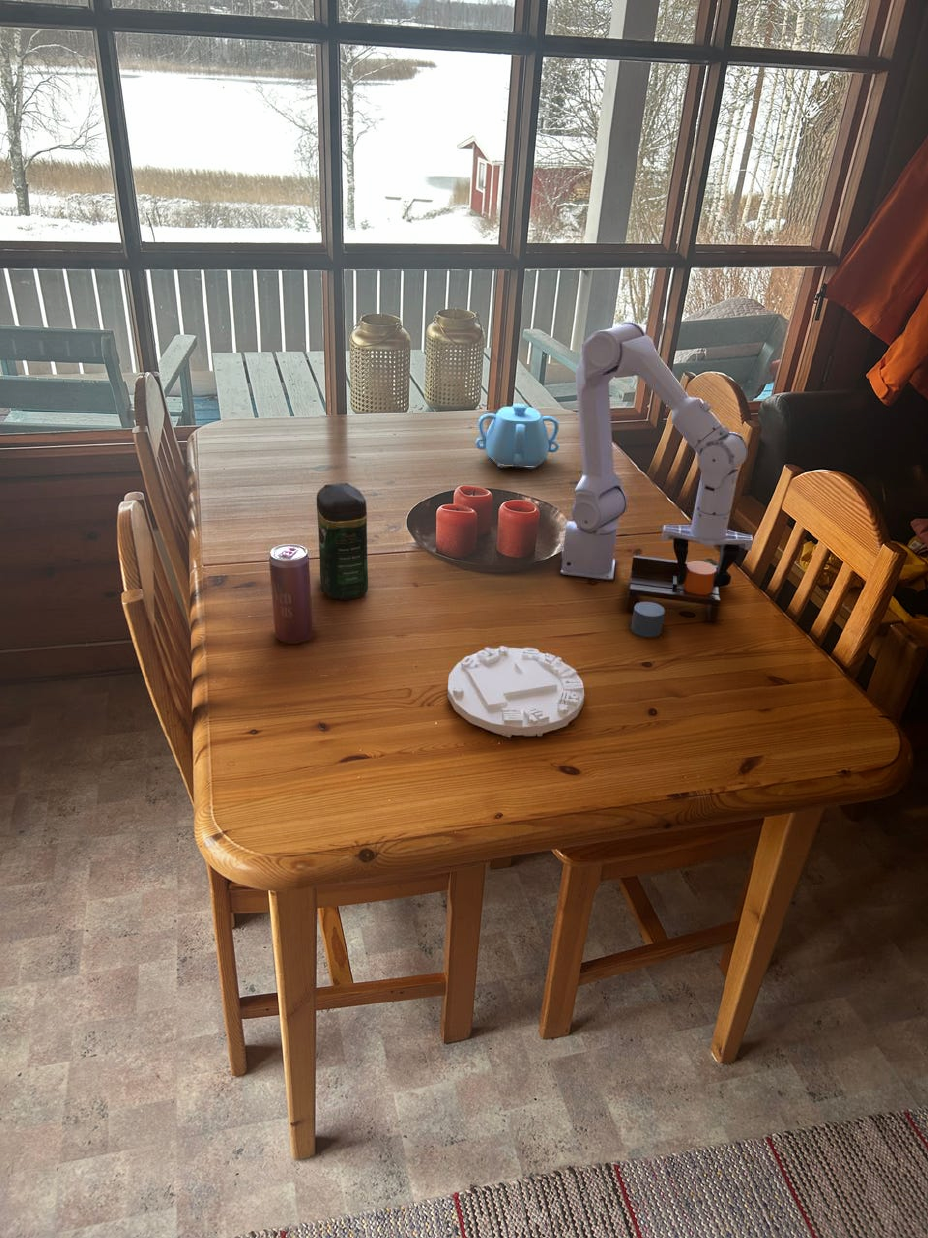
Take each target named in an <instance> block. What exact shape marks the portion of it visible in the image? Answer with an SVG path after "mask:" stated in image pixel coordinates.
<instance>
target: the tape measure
mask: <svg viewBox="0 0 928 1238" xmlns="http://www.w3.org/2000/svg"><path fill="white" fill-rule="evenodd" d="M693 561H704V562H708V563H710V564H712V565H716V566H718V563H717V562H716V561H715V560H714V559H712V558H705V559H701V558H700V559H699V558H698V559H695V560H693ZM731 580H732V575H731V574H730V573H729V572H728V570H727V571H726V572H725V574H724V576H723V578H722V580H721V582H720V584H719V586H718V589H719V588H723V587H726V586H729V584H730V583H731Z"/></svg>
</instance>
